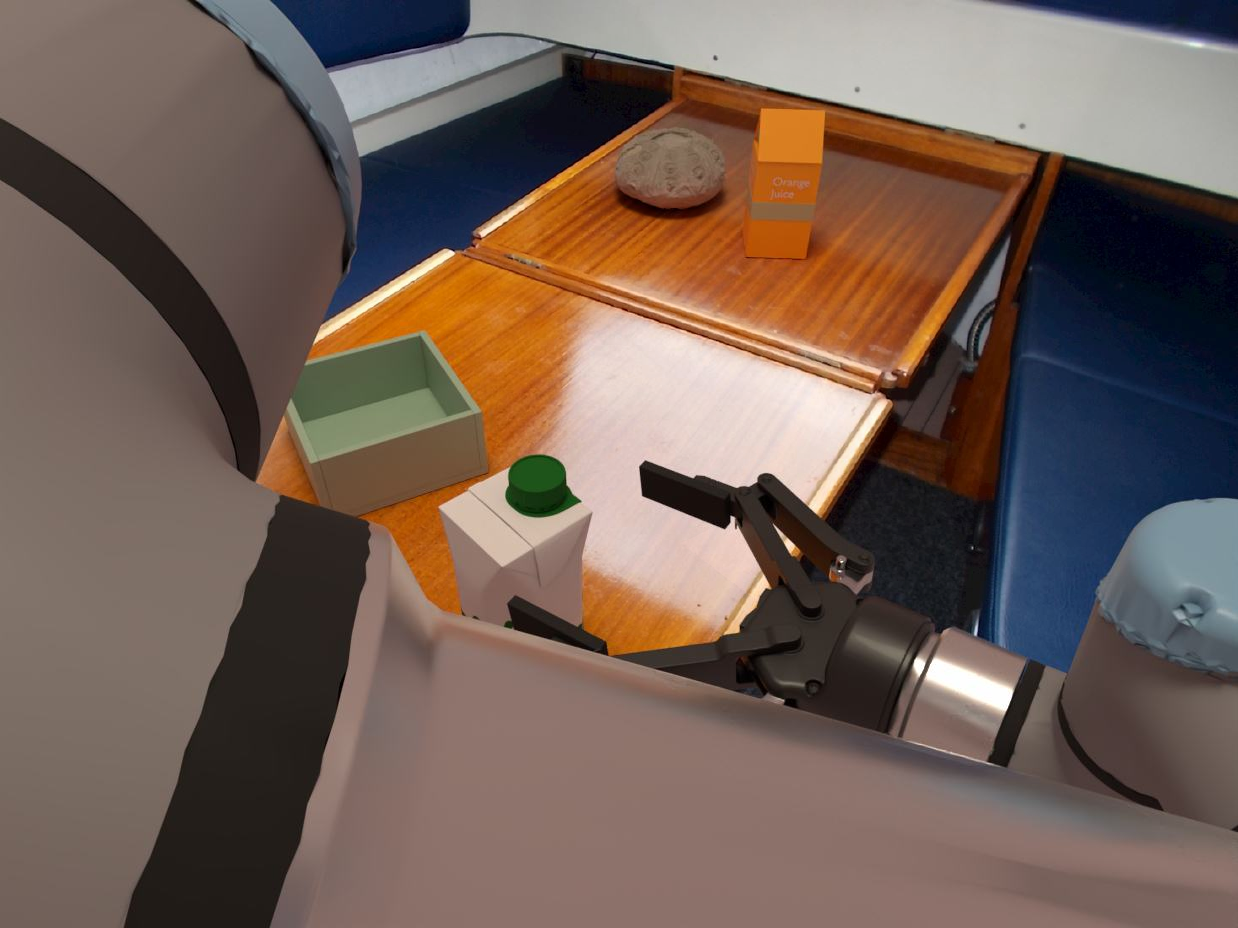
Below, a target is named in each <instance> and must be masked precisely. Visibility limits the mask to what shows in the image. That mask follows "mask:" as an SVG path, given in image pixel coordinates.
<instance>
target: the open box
mask: <svg viewBox="0 0 1238 928" xmlns="http://www.w3.org/2000/svg"><path fill="white" fill-rule="evenodd" d="M283 418H284V420H285V423H286V428H287V430H288V433H289V435H290V437H291V440H292V443H293V445H294V447H295V450H296V452H297V454H298V457H299V460H300V462H301V464H302V467H303V469H304V471H305V474H306V476H307V479H308V481H309V484H310V486H311V488H312V491H313V492H314V495H315V497H316V500H317V502H318V503H317V504H318V506H321V507H324V508H328V509H331V510H334V511H337V512H341V513H344V514H347V515H351V516H354V517H359V516H362V515H365V514H368V513H371V512H374V511H377V510H380V509H383V508H386V507H390V506H392V505H395V504H399V503H401V502H404V501H408V500H411V499H414V498H416V497H419V496H423V495H426V494H428V493H431V492H434V491H437V490H440V489H443V488H446V487H450V486H452V485H455V484H458V483H462V482H465V481H467V480H470V479H474V478H477V477H479V476H483V475H486V474H488V473H489V465H488V455H487V448H486V437H485V428H484V420H483V419H484V417H483V411H482V410H481V408H480V407H479V405H478V404H477V402H476V401H475V400H474V398H473V396H471V394H470V393H469V391H468V390H467V388H466V387H465V386H464V384H463V383H462V381H461V380H460V378H459V377H458V375H457V374H456V372H455V371H454V370H453V368H452V367H451V365H450V364H449V363H448V361H447V359H446V358H445V356H444V355H443V354H442V352H441V351H440V349H439V347H437V345H436V343H435V342H434V341H433V340H432V338H431V337H430V335H429V334H428V332H427V330H425V329H424V330H420V331H416V332H412V333H409V334H408V333H407V334H404V335H400V336H396V337H393V338H388V339H384V340H380V341H377V342H373V343H370V344H369V343H368V344H365V345H362V346H357V347H354V348H349V349H347V350H342V351H339V352H334V353H331V354H327V355H323V356H320V357H315V358H311V359H308V360H306V363H305V365H304V368H303V370H302V372H301V375H300V377H299V380H298V382H297V384H296V387H295V389H294V392H293V394H292V396H291V399H290V401H289V404H288V406H287V408H286V411H285V413H284V416H283Z"/></svg>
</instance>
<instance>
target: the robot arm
mask: <svg viewBox="0 0 1238 928" xmlns="http://www.w3.org/2000/svg"><path fill="white" fill-rule="evenodd" d="M362 186H363V182H362V168H361V161H360V155H359V151H358V146H357V142H356V140H355V136H354V130H353V127H352V124H351V122H350V119H349V116H348V114H347V111H346V108H345V104H344V102H343V100H342V98H341V96H340V94H339V91H338V89H337V87H336V86H335V84H334V82H333V80H332V78H331V77H330V74H329V73H328V71H327V69H326V68H325V66H324V64H323V63H322V62H321V60H320V58H319V57H318V55H317V54H316V52H315V51H314V50H313V48H312V46H310V44H309V43H308V41H307V40H306V39H305V37H303V35H302V34H301V32H300V31H299V30H298V29H297V28H296V27H295V25H294V24H293V23H292V21H291V20H290V19H289V18H288V17H287V16H286V15H285V14H284V13H283V12H282V11H281V10H280V9H279V8H278V7H277V5H276V4H274V3H273V2H272V1H271V0H0V928H1238V499H1237V498H1231V497H1229V498H1228V497H1211V498H1207V499H1206V498H1205V499H1197V498H1194V499H1193V500H1191V499H1190V500H1183V501H1182V500H1181V501H1177V502H1173V503H1170V504H1166V505H1164V506H1163V507H1160V508H1159V509H1156V510H1154V511H1152V512H1150V513H1149V514H1147V515H1146V516H1145V517H1143V518H1142V519H1141V520H1140V521H1139V522H1138V523H1137V524H1136V525H1135V526H1134V527H1133V529H1132V530H1131V532H1130V533H1129V535H1128V536H1127V539H1126V540H1125V542H1124V544H1123V546H1122V548H1121V550H1120V552H1119V554H1118V555H1117V556H1116V559H1115V561H1114V563H1113V565H1112V566H1111V569H1110V570H1109V572H1107V573H1106V576H1104V577H1102V578H1101V580H1099V585H1098V586H1097V587H1096V589H1095V592H1094V593H1095V595H1096V596H1095V599H1094V604H1093V606H1092V609H1091V612H1090V615H1089V617H1088V620H1087V623H1086V626H1085V628H1084V630H1083V633H1082V635H1081V638H1080V642H1079V643H1078V646H1077V649H1076V652H1075V654H1074V657H1073V660H1072V662H1071V665H1070V668H1069V670H1068V672H1067V673H1066V672H1064V671H1061V670H1059V669H1057V668H1054V667H1052V666H1049V665H1047V664H1044V663H1042V662H1039V661H1036V660H1034V659H1032V658H1030V659H1029V658H1028V657H1027V656H1025V655H1022V654H1020V653H1018V652H1015V651H1014V650H1013V651H1012V650H1011V649H1008V648H1005V647H1003V646H1001V645H998V644H996V643H993V642H991V641H989V640H987V639H984V638H982V637H980V636H977V635H975V634H972V633H970V632H968V631H965V630H963V629H960V628H959V627H957V626H951V627H948V628H946V629H944V630H943V631H942V633H938V632H936V627H935V626H936V625H935V623H934V622H932V619H931V618H930V617H929V616H927V615H924V614H922V613H919V612H917V611H914V610H912V609H909V608H908V607H905V606H902V605H900V604H897V603H895V602H892V601H890V600H887V599H885V598H882V597H880V596H877V595H871V596H867V597H866V598H862V597H860V596H859V595H858V594H865V593H868V592H869V591H870V590H871V588H872V584H873V577H874V570H875V563H876V556H875V554H874V553H873V552H871V551H870V550H867V549H866V548H864V547H861V546H859V545H857V544H855V543H854V542H851V541H849V540H846V539H845V538H843V537H842V535H840V534H839V533H838V532H837V531H836V530H835V529H834V528H832V527H831V525H829V524H828V523H827V522H826V521H825V520H824V519H823V518H822V517H820V516H819V515H818V514H817V512H815V511H814V510H813V509H811V507H810V506H809V505H807V504H806V503H805V502H804V501H803V500H802V499H801V498H799V496H797V495H796V494H795V493H794V492H793V491H792V490H791V489H790V488H789V487H788V486H786V485H785V484H784V482H782V481H781V480H780V479H779V478H777V476H775V475H774V474H773V473H769V472H763V473H760V474H758V476H757V479H756V482H755V483H752V484H751V485H749V486H747V485H741V486H738V487H736V486H734V485H730V484H728V483H725V482H722V481H719V480H717V479H714V478H711V477H708V476H706V475H701V474H700V475H699V474H695V475H694V476H693V477H691V476H688V475H685V474H683V473H681V472H678V471H675V470H672V469H669V468H667V467H665V466H662V465H659V464H657V463H654V462H651V461H648V460H646V459H645V460H644V461H643V462H642V463H641V464H640V465H639V466H638V470H639V481H640V491H641V497H643V498H645V499H648V500H650V501H652V502H655V503H658V504H660V505H663V506H665V507H667V508H670V509H673V510H675V511H678V512H680V513H683V514H685V515H688V516H689V517H693V518H694V519H697V520H699V521H702V522H705V523H707V524H710V525H713V526H715V527H717V528H720V529H722V530H726V529H727V528H728V527H729V526H730V524H731V522H732V518H734V530H737V529H738V530H739V531H740V533H741V535H742V537H743V538H744V540H745V542H746V544H747V546H748V548H749V550H750V552H751V554H752V555H753V557H754V559H755V561H756V563H757V565H758V567H759V568H760V570H761V572H762V574H763V576H764V578H765V580H766V581H767V583H768V585H769V587H770V588H768V587H765V588H764V590H763V591H762V592H761V594H760V595H759V597H758V601H757V604H756V606H755V608H754V609H752V610H751V611H750V612H749V613H748V614H746V615H745V617H743V619H742V621H741V622H740V623H739V632H735V633H734V632H733V633H725V634H722V635H721V636H719V637H718V638H717V639H716V640H714V641H710V642H709V641H708V642H702V643H693V644H688V645H687V644H686V645H680V646H673V647H665V648H657V649H649V650H643V651H636V652H635V651H634V652H628V653H620V654H612V655H609V648H608V642H607V641H606V640H604V639H603V638H600V637H599V636H597V635H594V634H593V633H590V632H588V631H587V630H585V629H584V630H583V629H581V628H579V627H577V626H575V625H573V624H571V623H569V622H567V621H565V620H563V619H561V618H559V617H557V616H555V615H554V614H552V613H550V612H548V611H546V610H544V609H542V608H540V607H538V606H536V605H534V604H532V603H530V602H528V601H526V600H524V599H522V598H520V597H519V596H517V595H515V596H514V597H513V598H512V599H511V600H510V601H509V602H508V603H507V606H508V609H509V613H510V617H511V621H512V624H513V628H514V630H513V629H509V628H505V627H502V626H498V625H495V624H491V623H488V622H484V621H480V620H477V619H473V618H470V617H466V616H463V615H462V614H458V613H455V612H452V611H448V610H445V609H442V608H441V607H439V606H437V605H436V604H435V603H433V602H432V601H430V600H429V599H428V598H427V597H426V595H425V593H424V591H423V589H422V587H421V585H420V583H419V582H418V580H417V578H416V577H415V575H414V573H413V570H412V569H411V567H410V566H409V564H408V561H407V560H406V558H405V556H404V555H403V553H402V551H401V549H400V547H399V546H398V544H397V542H396V540H395V539H394V536H393V535H392V533H391V531H390V529H389V528H388V527H387V526H385V525H383V524H380V523H376V522H373V521H370V520H367V519H363V518H361V517H358V516H356V517H354V516H351V515H347V514H344V513H341V512H337V511H334V510H331V509H328V508H324V507H321V506H320V505H319V504H318V505H317V504H314V503H311V502H308V501H304V500H302V499H298V498H294V497H291V496H288V495H284V494H282V493H281V492H278V491H274V490H272V489H271V488H268V487H266V486H264V485H262V484H259V483H258V482H257V481H258V479H259V476H260V474H261V471H262V468H263V466H264V464H265V462H266V459H267V456H268V454H269V452H270V450H271V447H272V444H273V442H274V440H275V437H276V435H277V432H278V430H279V428H280V425H281V423H282V421H283V418H284V413H285V411H286V408H287V406H288V404H289V401H290V399H291V396H292V394H293V392H294V389H295V387H296V384H297V382H298V380H299V377H300V375H301V372H302V370H303V368H304V365H305V363H306V361H307V359H308V358H309V356H310V353H311V350H312V347H313V346H314V343H315V341H316V338H317V336H318V334H319V331H320V329H321V326H322V324H323V322H324V319H325V317H326V314H327V312H328V309H329V308H330V305H331V303H332V300H333V298H334V295H335V294H336V293H335V292H336V291H337V290H338V289H339V288H340V286H341V285H342V284H343V282H344V281H345V280H346V279H347V276H348V274H349V273H350V271H351V263H352V259H353V257H354V255H355V253H356V252H357V249H358V243H357V231H358V224H359V216H360V211H361V204H362V189H363V187H362ZM777 529H778V530H777ZM778 531H779V532H780V533H782V534H783V535H784V536H785V537H786V538H787V540H788V541H790V542H791V543H792V544H793V545H794V546H795V547H796V549H798V550H799V551H800V552H801V553H802V554H803V555H804V556H805V557H806V558H807V559H808V560H809V561H810V562H811V563H812V564H813V565H814V566H815V567H816V568H817V569H818V570H819V571H820V572H822V573H823V574H824V575H825V576H826V577H827V578H829V580H830V581H819V582H818V581H817V582H811V580H810V578H809V576H808V575H807V573H806V571H805V570H804V568H803V566H802V564H801V563H800V561H799V559H798V558H797V556H795V555H792V554H791V552H790V550H789V549H788V547H787V546H786V544H785V542H784V541H783V539H782V537H781V535H780V534H779V532H778ZM738 659H741V661H742V662H743V664H740V665H737V660H738ZM1028 661H1029V662H1028ZM753 688H757V689H758V691H759V693H760V694H761V696H762V697H760V698H759V697H756V696H754V695H751V694H746V693H741V692H737V691H738V690H746V689H753Z"/></svg>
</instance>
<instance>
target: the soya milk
mask: <svg viewBox="0 0 1238 928" xmlns="http://www.w3.org/2000/svg"><path fill="white" fill-rule="evenodd" d="M466 489H467V491H464V492H462V493H460V494H459V495H457V496H455V497H453V498H451V499H450V500H448V501H446V502H444V503H442V504H440V505H438V507H437V508H438V512H439V515H440V519H441V523H442V526H443V529H444V534H445V537H446V540H447V544H448V548H449V552H450V556H451V560H452V564H453V568H454V576H455V581H456V587H457V593H458V600H459V606H460V611H461V615H463V616H466V617H470V618H473V619H477V620H480V621H484V622H488V623H491V624H495V625H498V626H502V627H505V628H509V629H513V630H514V628H513V624H512V621H511V617H510V613H509V609H508V606H507V603H508V602H509V601H510V600H511V599H512V598H513V597H514V596H515V595H517V596H519V597H520V598H522V599H524V600H526V601H528V602H530V603H532V604H534V605H536V606H538V607H540V608H542V609H544V610H546V611H548V612H550V613H552V614H554V615H555V616H557V617H559V618H561V619H563V620H565V621H567V622H569V623H571V624H573V625H575V626H577V627H579V628H581V629H583V630H585V628H584V627H585V625H584V597H583V596H584V593H583V587H584V586H583V554H584V549H585V546H586V542H587V537H588V533H589V529H590V525H591V521H592V517H593V513H594V512H593V511H592V510H591V509H590V508H589V507H587V506H586V505H585V504H583V503H582V502H583V501H582V500H581V499H580V498H579V497H578V496H576V495H575V494H573V492H572V490H571V488H570V486H568V483H567V471H566V467H565V465H564V464H563V463H562V461H560V460H559V459H558V458H556V457H554V456H551V455H549V454H541V453H540V454H539V453H538V454H537V453H536V454H529V455H526V456H525V455H524V456H523V457H520V458H518V459H516V460H515V461H514V462H513V463H512V464H511V466H509V467H507V468H505V469H503V470H502V471H500V472H497V473H495V474H493V475H492V476H490V477H488V478H486V479H484V480H483V481H478V482H476V483H475V484H473V485H471V486H469V487H468V488H466Z"/></svg>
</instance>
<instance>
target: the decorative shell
mask: <svg viewBox="0 0 1238 928" xmlns="http://www.w3.org/2000/svg"><path fill="white" fill-rule="evenodd" d="M723 153H724V150H722V149H720V148H719V147H718V145H716V143H715V141H714V139H710V138H708V137H707V136H706V135H703V134H701V133H699V132H698V133H697V132H696V131H695V130H691V129H689V128H685V127H677V126H674V127H669V128H666V127H665V128H659V129H658V128H657V129H656V128H652V129H651V130H647V131H644V132H642V133H639V134H637V135H634V136H633V138H631V139H630V140H629V141H628V142H627V143H626V144H623V145H622V148H621V149H620V152H619V153H618V156H617V159H616V162H615V165H614V169H613V172H614V176H615V182H616V185H617V187H618V189H619V190H620V191H621V192H622V193H623V194H624V195H627V196H629V197H630V198H633V199H636V200H638V201H640V202H642V203H644V204H647V205H650V206H652V207H656V208H660V209H664V208H665V209H664V210H671V209H670V208H678V209H677V210H684V209H688V208H692V207H698V206H700V205H702V204H704V203H708V202H709V201H711V200H712V199H713V198H715V196H716V195H717V194H719V192H720V191H721V189H722V187H723V186H724V183H725V181H726V175H727V172H726V169H727V167H726V158H725V157H724V155H723Z"/></svg>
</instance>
